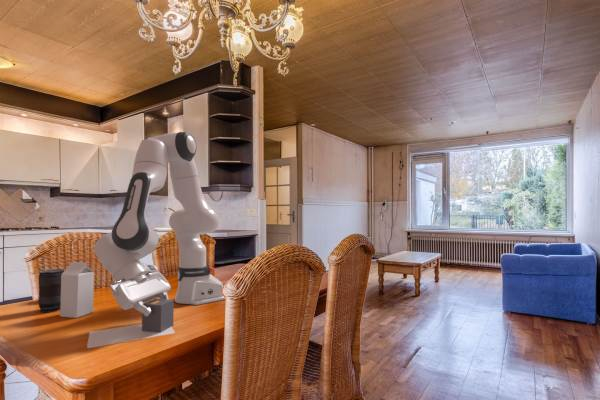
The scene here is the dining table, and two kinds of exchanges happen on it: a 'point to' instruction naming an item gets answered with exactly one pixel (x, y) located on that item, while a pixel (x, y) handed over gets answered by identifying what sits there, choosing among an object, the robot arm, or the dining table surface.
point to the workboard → (122, 335)
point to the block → (158, 315)
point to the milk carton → (77, 290)
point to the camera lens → (50, 290)
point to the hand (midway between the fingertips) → (159, 309)
